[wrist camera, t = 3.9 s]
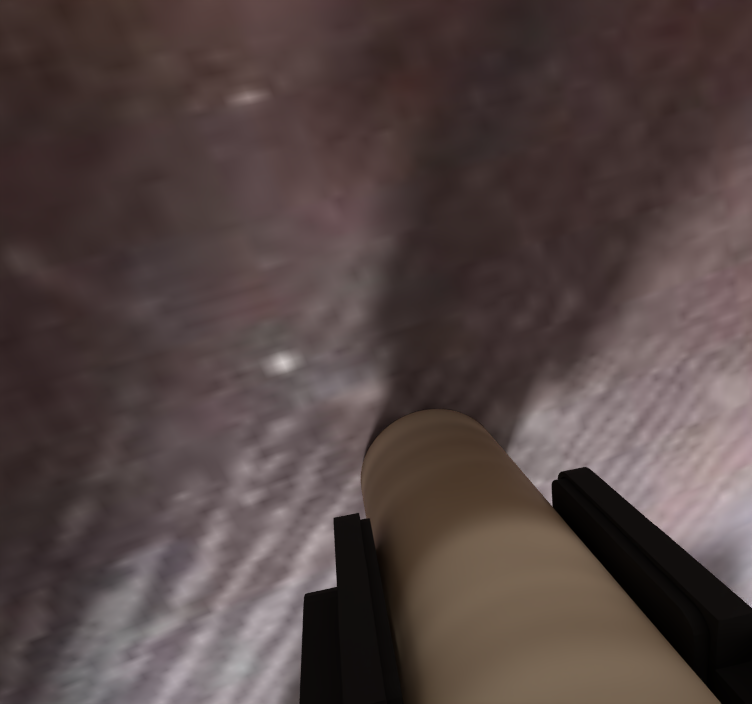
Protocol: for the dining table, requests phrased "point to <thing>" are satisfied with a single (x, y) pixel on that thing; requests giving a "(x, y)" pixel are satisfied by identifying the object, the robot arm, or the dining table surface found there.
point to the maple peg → (500, 582)
